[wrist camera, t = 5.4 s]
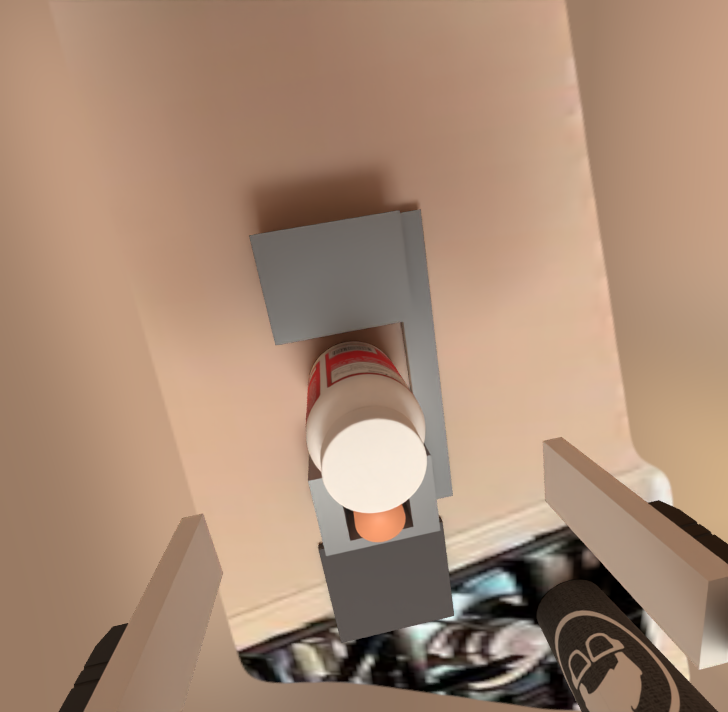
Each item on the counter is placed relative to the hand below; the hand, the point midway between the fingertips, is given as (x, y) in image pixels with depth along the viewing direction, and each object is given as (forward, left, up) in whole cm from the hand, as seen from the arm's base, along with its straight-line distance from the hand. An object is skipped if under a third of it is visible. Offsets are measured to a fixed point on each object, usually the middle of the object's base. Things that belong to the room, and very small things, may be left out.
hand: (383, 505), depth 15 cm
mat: (+18, 0, -13) cm, 22 cm away
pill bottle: (0, 0, -13) cm, 13 cm away
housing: (0, +1, -13) cm, 13 cm away
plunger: (+7, 0, -13) cm, 15 cm away
